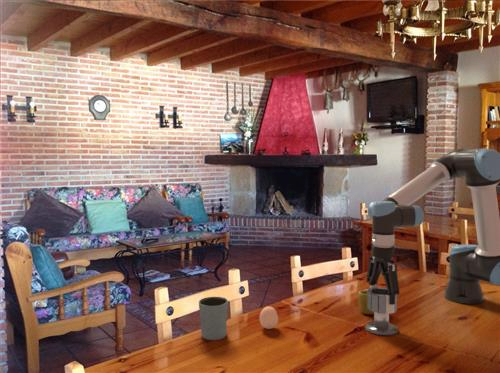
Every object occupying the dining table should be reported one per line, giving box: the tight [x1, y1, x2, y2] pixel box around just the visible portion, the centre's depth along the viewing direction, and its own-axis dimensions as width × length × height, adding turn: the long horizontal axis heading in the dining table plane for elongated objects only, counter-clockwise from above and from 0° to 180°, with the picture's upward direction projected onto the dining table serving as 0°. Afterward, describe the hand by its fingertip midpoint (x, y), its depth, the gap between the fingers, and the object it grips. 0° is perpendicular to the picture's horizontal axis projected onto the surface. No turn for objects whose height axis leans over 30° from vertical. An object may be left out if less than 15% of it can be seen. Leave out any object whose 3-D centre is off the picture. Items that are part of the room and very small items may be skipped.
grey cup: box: [198, 296, 229, 341], centre depth 155 cm, size 10×10×12 cm
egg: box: [259, 306, 279, 330], centre depth 160 cm, size 7×7×8 cm
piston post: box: [365, 312, 399, 337], centre depth 159 cm, size 11×11×9 cm
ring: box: [367, 286, 398, 314], centre depth 158 cm, size 10×10×6 cm
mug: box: [357, 288, 374, 316], centre depth 177 cm, size 12×10×10 cm
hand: (381, 307), depth 159 cm, fingers closed on ring, 10 cm apart
